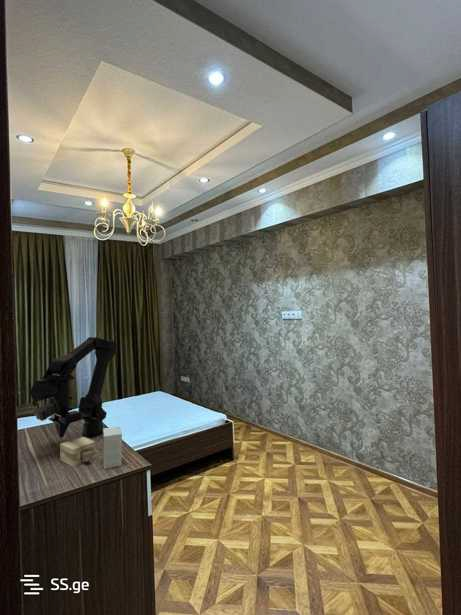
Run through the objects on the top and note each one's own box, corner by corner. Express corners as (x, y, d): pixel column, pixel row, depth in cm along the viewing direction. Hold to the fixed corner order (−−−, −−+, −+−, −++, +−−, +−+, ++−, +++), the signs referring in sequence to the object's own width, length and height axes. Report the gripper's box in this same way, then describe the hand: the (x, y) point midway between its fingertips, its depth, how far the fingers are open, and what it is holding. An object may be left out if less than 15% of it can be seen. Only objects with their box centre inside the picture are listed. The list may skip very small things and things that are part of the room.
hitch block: (82, 451, 115) (82, 436, 115) (95, 457, 110) (95, 441, 110) (60, 460, 108) (60, 443, 108) (72, 466, 104) (72, 449, 104)
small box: (102, 459, 109) (102, 428, 109) (120, 456, 111) (120, 425, 111) (103, 469, 102) (103, 436, 102) (121, 466, 104) (122, 433, 104)
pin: (75, 451, 114) (75, 440, 114) (95, 460, 107) (95, 448, 107) (63, 455, 111) (63, 443, 111) (83, 465, 104) (83, 452, 104)
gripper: (25, 395, 115) (25, 439, 115) (51, 403, 105) (51, 451, 104) (56, 389, 124) (56, 429, 124) (83, 395, 114) (83, 440, 113)
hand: (61, 437), depth 116 cm, fingers closed
